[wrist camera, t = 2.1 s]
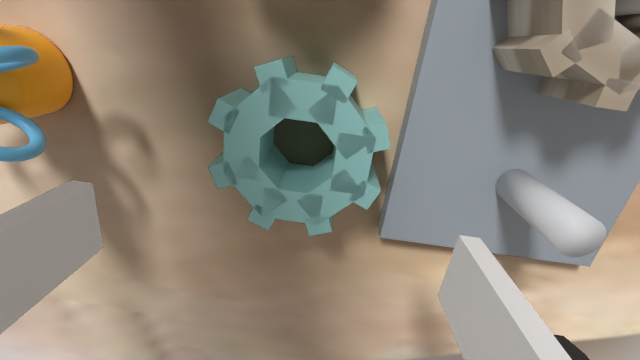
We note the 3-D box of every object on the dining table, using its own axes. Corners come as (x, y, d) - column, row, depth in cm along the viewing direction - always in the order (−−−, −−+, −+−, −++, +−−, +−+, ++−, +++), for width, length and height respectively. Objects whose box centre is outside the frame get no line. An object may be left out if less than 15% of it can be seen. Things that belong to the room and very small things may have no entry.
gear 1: (234, 47, 22) (206, 48, 17) (392, 70, 22) (407, 76, 17) (231, 191, 26) (208, 222, 21) (363, 209, 26) (368, 244, 21)
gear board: (466, -148, 17) (574, -309, 9) (773, -103, 17) (1132, -225, 10) (377, 227, 27) (394, 303, 19) (576, 255, 27) (675, 341, 19)
